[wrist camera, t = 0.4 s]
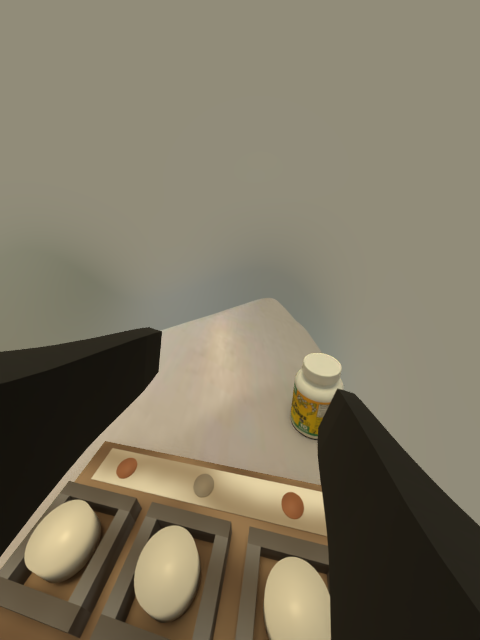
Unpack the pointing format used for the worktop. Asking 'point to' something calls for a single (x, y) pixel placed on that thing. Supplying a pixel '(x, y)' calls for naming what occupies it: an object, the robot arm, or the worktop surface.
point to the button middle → (167, 574)
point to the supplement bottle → (314, 392)
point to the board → (146, 520)
